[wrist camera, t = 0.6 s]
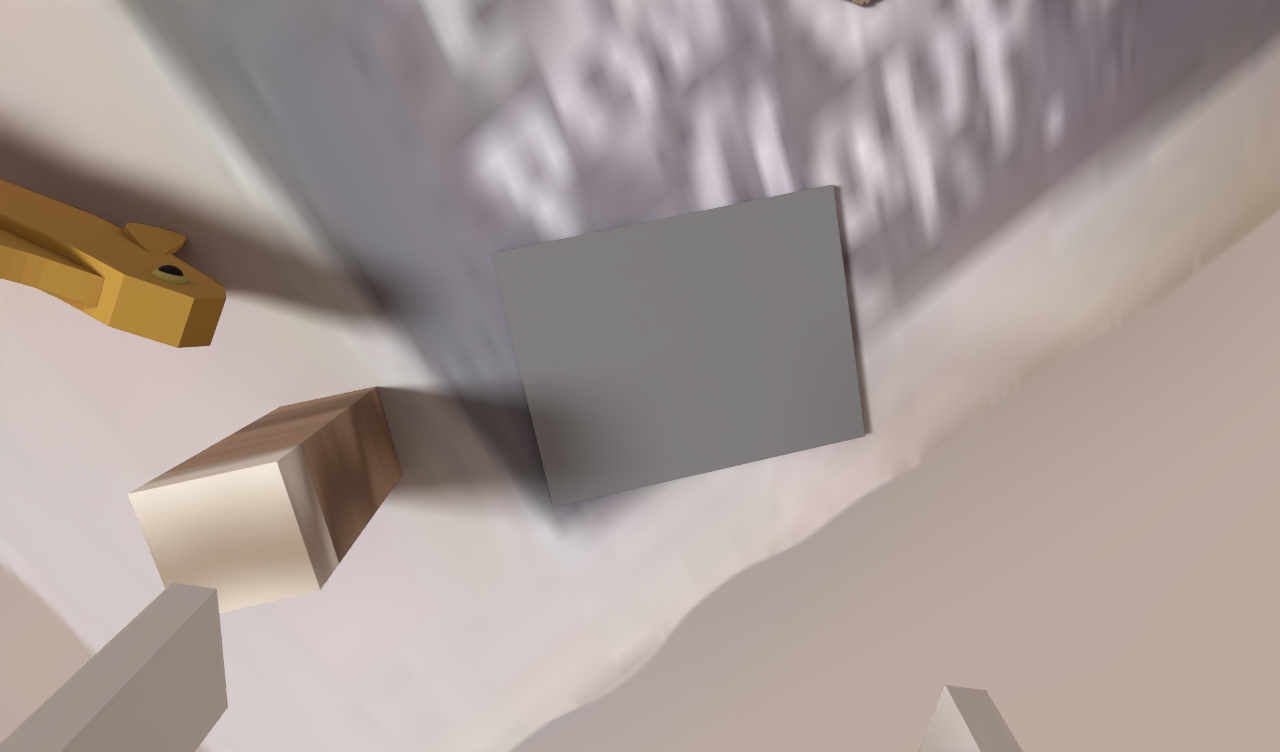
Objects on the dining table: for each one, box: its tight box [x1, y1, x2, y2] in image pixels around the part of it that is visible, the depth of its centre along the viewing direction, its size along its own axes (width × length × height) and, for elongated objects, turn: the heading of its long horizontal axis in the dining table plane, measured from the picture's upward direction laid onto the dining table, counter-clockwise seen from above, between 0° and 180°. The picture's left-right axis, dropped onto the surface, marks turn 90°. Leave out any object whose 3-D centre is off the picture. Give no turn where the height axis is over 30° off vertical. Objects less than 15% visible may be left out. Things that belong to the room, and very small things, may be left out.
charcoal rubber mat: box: [491, 185, 865, 507], centre depth 35 cm, size 14×18×1 cm
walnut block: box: [128, 387, 402, 613], centre depth 29 cm, size 5×5×12 cm
